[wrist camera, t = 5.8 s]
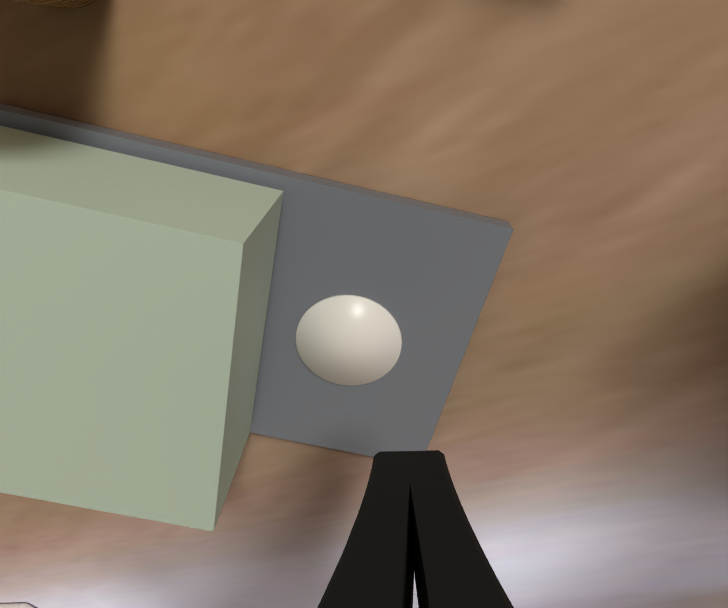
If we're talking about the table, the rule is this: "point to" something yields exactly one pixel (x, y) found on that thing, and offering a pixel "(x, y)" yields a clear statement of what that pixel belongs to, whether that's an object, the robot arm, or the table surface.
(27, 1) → the peg
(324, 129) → the table surface
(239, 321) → the pale green rectangular block
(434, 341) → the base
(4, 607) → the jar
